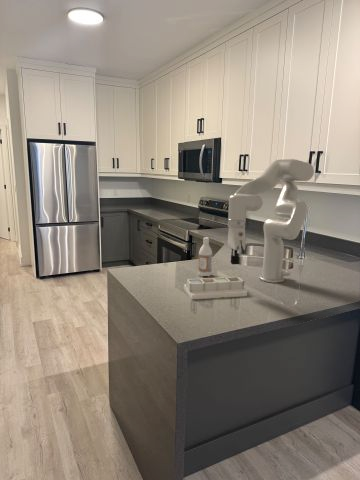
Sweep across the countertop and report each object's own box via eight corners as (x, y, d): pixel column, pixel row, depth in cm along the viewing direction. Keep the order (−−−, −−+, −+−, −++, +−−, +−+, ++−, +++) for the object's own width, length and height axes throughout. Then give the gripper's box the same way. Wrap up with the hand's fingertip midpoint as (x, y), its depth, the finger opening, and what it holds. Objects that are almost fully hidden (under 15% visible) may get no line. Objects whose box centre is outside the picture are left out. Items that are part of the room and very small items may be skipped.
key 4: (199, 284, 147) (199, 280, 147) (201, 287, 143) (201, 283, 143) (189, 284, 146) (189, 280, 146) (192, 287, 142) (192, 283, 142)
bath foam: (196, 275, 171) (197, 238, 167) (201, 272, 177) (203, 236, 173) (208, 277, 168) (209, 239, 164) (213, 274, 173) (215, 237, 170)
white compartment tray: (234, 285, 156) (235, 274, 155) (246, 296, 143) (247, 283, 142) (184, 288, 151) (184, 276, 150) (191, 299, 138) (192, 286, 137)
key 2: (224, 282, 150) (224, 279, 149) (227, 285, 145) (227, 282, 145) (215, 283, 149) (215, 279, 148) (218, 286, 145) (218, 282, 144)
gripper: (251, 225, 137) (249, 268, 140) (238, 220, 151) (236, 259, 155) (235, 226, 135) (232, 269, 139) (222, 221, 149) (221, 260, 153)
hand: (234, 263), depth 147 cm, fingers closed
